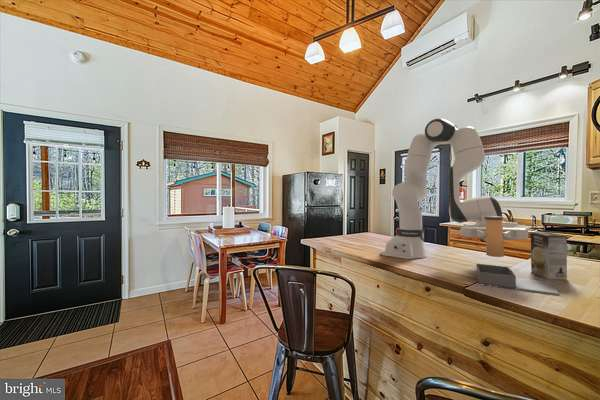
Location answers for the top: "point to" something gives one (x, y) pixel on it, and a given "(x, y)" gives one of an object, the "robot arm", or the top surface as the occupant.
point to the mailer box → (510, 280)
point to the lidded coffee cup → (494, 236)
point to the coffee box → (549, 255)
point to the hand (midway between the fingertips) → (494, 235)
